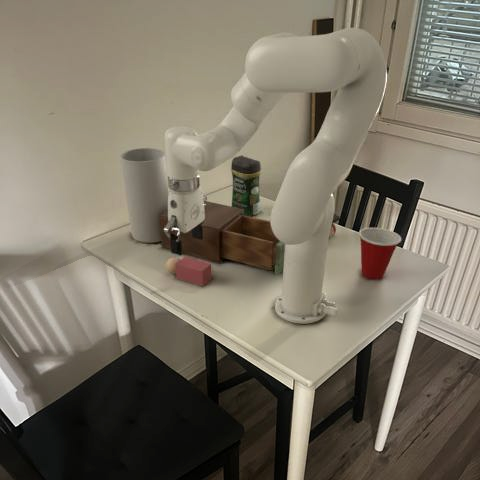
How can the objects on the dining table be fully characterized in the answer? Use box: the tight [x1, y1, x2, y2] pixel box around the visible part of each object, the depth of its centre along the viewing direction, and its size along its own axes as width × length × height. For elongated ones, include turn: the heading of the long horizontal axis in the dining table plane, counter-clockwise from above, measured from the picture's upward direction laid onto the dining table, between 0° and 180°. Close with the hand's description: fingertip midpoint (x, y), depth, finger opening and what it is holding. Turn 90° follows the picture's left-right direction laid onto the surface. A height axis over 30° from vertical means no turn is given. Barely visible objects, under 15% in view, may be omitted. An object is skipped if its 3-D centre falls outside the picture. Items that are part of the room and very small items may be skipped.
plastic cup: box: [358, 227, 402, 280], centre depth 130 cm, size 11×11×12 cm
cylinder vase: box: [119, 147, 169, 244], centre depth 146 cm, size 12×12×25 cm
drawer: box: [220, 215, 285, 276], centre depth 136 cm, size 24×14×9 cm, turn 62°
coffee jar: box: [230, 155, 262, 217], centre depth 161 cm, size 10×8×19 cm
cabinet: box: [159, 200, 244, 264], centre depth 144 cm, size 20×15×11 cm
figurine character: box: [329, 213, 342, 238], centre depth 147 cm, size 7×8×15 cm
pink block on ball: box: [165, 256, 213, 287], centre depth 131 cm, size 13×5×5 cm, turn 62°
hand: (187, 245), depth 127 cm, fingers open, 9 cm apart
